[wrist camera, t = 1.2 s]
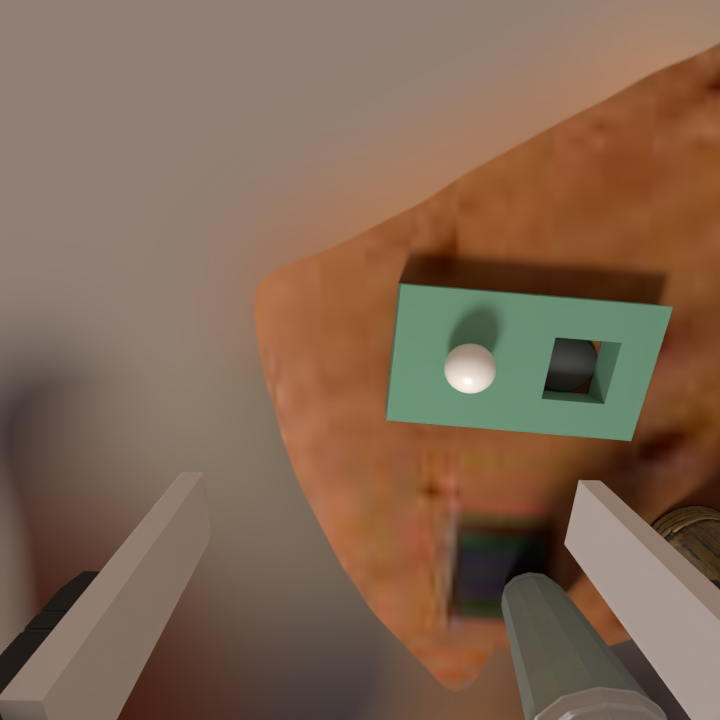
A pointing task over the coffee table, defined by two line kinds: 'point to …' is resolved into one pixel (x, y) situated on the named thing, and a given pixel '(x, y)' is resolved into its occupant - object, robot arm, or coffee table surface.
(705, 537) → the wooden mug
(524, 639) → the disposable coffee cup
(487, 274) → the coffee table surface
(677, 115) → the coffee table surface
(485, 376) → the ball
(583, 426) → the putting mat
